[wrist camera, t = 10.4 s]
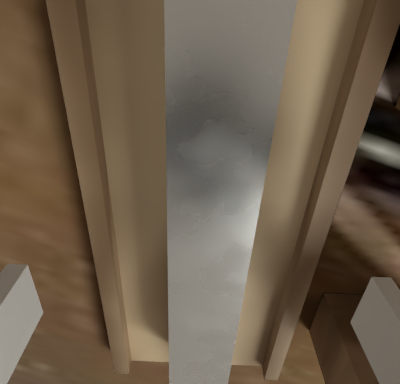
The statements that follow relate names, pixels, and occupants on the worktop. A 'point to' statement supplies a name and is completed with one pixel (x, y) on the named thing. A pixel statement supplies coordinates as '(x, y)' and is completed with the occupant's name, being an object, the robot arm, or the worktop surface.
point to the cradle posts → (340, 339)
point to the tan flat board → (156, 161)
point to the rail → (216, 167)
